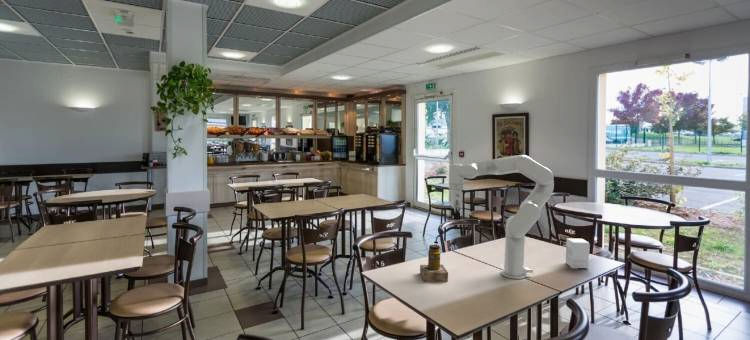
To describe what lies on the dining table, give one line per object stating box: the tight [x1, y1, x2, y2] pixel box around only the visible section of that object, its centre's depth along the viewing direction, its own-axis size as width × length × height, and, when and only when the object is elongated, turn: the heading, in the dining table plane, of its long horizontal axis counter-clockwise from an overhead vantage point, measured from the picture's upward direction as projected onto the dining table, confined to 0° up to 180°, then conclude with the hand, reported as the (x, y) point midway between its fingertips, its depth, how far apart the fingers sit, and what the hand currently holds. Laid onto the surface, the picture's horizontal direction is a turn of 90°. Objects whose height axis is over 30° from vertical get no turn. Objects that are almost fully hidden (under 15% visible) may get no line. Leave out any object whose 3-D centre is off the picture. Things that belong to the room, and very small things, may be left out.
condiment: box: [423, 244, 442, 272], centre depth 193 cm, size 7×8×12 cm
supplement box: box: [565, 238, 590, 269], centre depth 212 cm, size 9×9×15 cm
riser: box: [419, 264, 449, 283], centre depth 194 cm, size 12×12×5 cm
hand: (455, 217), depth 205 cm, fingers open, 9 cm apart
